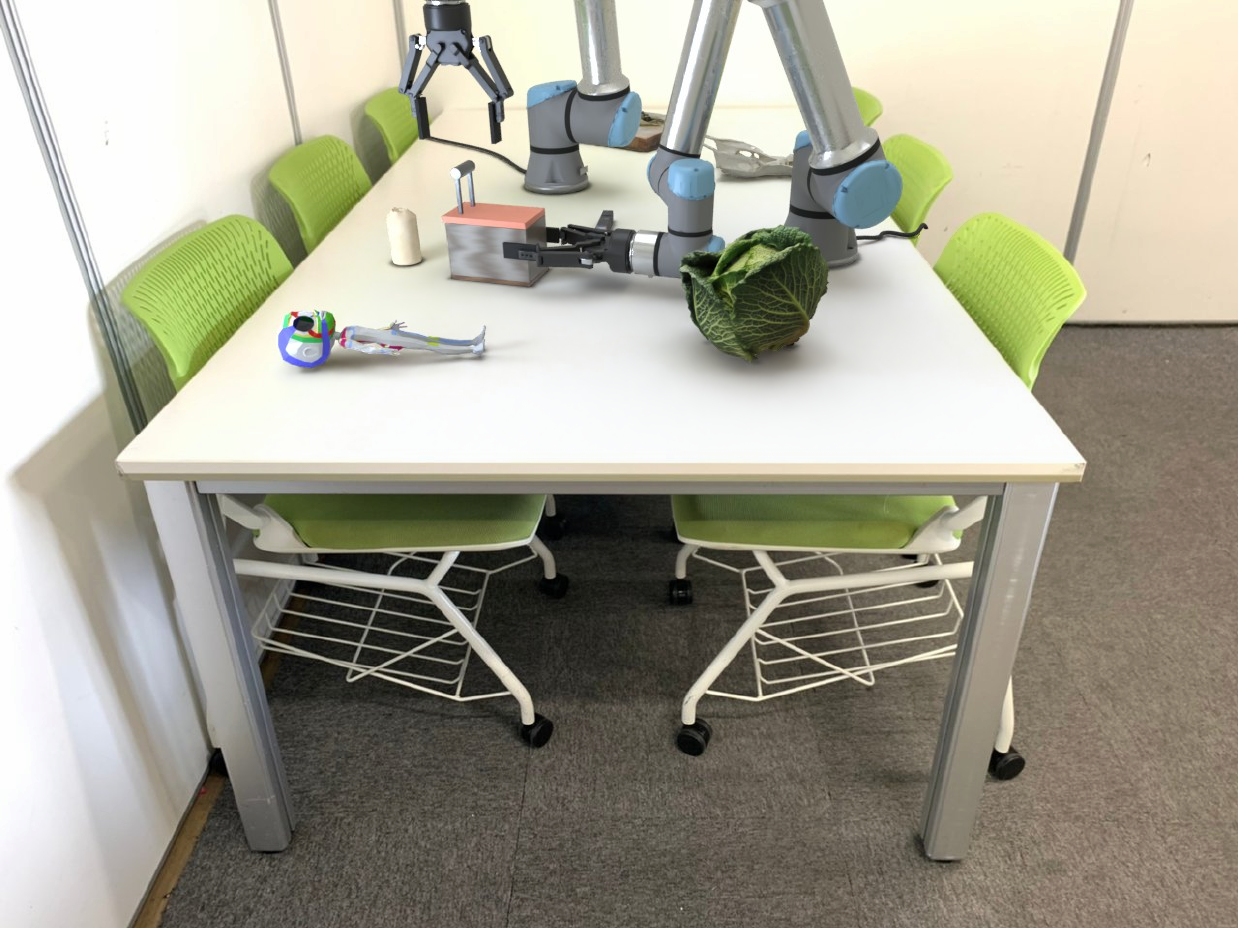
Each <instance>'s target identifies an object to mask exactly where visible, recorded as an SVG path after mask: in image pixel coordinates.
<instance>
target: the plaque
mask: <svg viewBox="0 0 1238 928" xmlns="http://www.w3.org/2000/svg"><path fill="white" fill-rule="evenodd" d="M665 119H666V114H663V113H659V112H650V111H644V110H642V113H641V120H640V125H639V128H638V131H637V133H636V136H635V138H634V139H633V141H632V142H631V143H630V144H629V145H627V146H624V147H618V148H620V149H625V150H632V151H640V152H648V151H654V150H656V149H657V150H658V147H659V143H660V139H661V135H662V131H663V127H664V123H665ZM612 148H617V147H616V146H613V147H612Z"/></svg>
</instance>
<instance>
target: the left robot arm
mask: <svg viewBox="0 0 1238 928" xmlns="http://www.w3.org/2000/svg"><path fill="white" fill-rule="evenodd" d="M424 1H425V3H423V6H422V14H423V23H424V28H425V30H426V31H425V33H426V35H422V34H421V33H419V32H417V33H415V34H414V33H413V34H410V35H409V36H408V52H407V56H406V60H405V62H404V66H403V69H402V73H401V78H400V81H399V84H398V88H397V92H398V93H399V94H400V95H404V96H407V97H408V98H409V101H410V108H411V116H412V118H413V119H416V123H417V133H418V138H419V140H421V141H423V140H426V139H428V140H432V141H433V140H434V141H437V142H441V143H447V144H450V145H455V146H460V147H465V148H469V149H473V150H477V151H481V152H485V153H488V154H490V155H494V156H496V157H498V158H500V159H502V160H504V161H505V162H507V163H508V164H509V165H510V166H512V167H513V168H515V169H516V170H518V171H520V172H521V173H524V174H525V175H524V178H523V183H524V188H525V189H526V190H527V191H530V192H531V193H535V194H536V193H537V194H543V195H544V194H545V195H562V194H570V193H576V192H579V191H583V190H584V189H586V188H587V187H589V175H588V173H589V165H585V164H584V161H583V158H582V156H581V153H580V144H583V145H594V146H601V147H608V148H614V147H613V146H616V147H615V148H619V147H624V146H627V145H629V144H630V143H631V142H632V141H633V139H634V138H635V136H636V133H637V131H638V128H639V125H640V120H641V113H642V111H643V103H642V102H643V101H642V98H641V96H640V94H639V93H638V92H636V91H633V90H632V91H631V84H630V82H631V81H630V79H629V78H628V77H627V76H626V75H625V74H623V72H622V71H623V70H622V59H621V49H620V38H619V28H618V27H619V26H618V16H617V5H616V0H573V7H574V15H575V24H576V33H577V40H578V49H579V58H580V66H581V74H582V78H581V79H580V81H579V82H577V81H576V80H575V79H574V80H573V79H563V80H554V81H548V82H543V83H539V84H535V85H532V86H531V87H530V88H529V89H528V90H527V93H526V107H525V108H526V109H525V110H526V113H527V127H528V140H529V141H528V142H529V157H528V162H527V168H526V169H525V168H522V167H521V166H519V165H517V164H516V163H514V162H513V161H511V160H510V159H509V158H508V157H506V156H505V155H503V154H501V153H499V152H496V151H494V150H491V149H488V148H484V147H480V146H477V145H472V144H469V143H464V142H459V141H454V140H449V139H444V138H440V137H435V136H432V135H431V127H430V119H429V111H428V104H427V97H426V96H423V92H424V91H425V89H426V88H427V86H428V84H429V82H430V81H431V79H432V77H433V76H434V74H435V72H436V71H437V69H438V67H439V66H443V67H446V66H449V65H451V66H453V67H460V66H462V67H463V68H464V69H465V70H467V71H468V72H469V73H470V75H471V76H472V77H473V79H475V81H476V83H478V85H479V86H480V87H481V89H482V90H483V91H484V92H485V94H486V95H487V97H488V98H489V99H490V100H491V101H489V102H487V109H488V110H487V111H488V122H489V134H490V144H491V145H497V144H499V143H501V142H502V141H503V137H502V126H501V125H502V124H501V123H503V122H505V118H506V115H505V100H507V99H509V98H512V97H514V95H515V91H514V89H513V87H512V85H511V83H510V81H509V78H508V77H507V75H506V72H505V71H504V69H503V66H502V65H501V62H500V61H499V59H498V57H497V54H496V52H495V51H494V46H493V41H492V37H491V35H489V34H486V35H483V36H479V37H474V35H473V31H472V29H473V23H472V21H473V20H472V13H471V5H470V4H469V2H467V0H424ZM425 47H426V48H427V49H428V50H429V51H430V53H429V55H428V57H427V58H426V60H425V64H424V66H423V67H422V69H421V71H420V72H419V74H418V76H417V78H416V75H417V72H418V69H419V64H420V61H421V57H422V54H423V50H424V49H425ZM475 48H476V49H477V51H478V52H480V55H481V58H482V60H483V62H484V64H485V66H486V68H487V70H488V72H489V73H488V72H487V71H486V70H485V68H484V67H483V66H482V65H481V64H480V61H479V58H478V57H477V56H476V55H475V54H474V52H473V50H474V49H475ZM489 74H490V75H489ZM415 78H416V79H415Z"/></svg>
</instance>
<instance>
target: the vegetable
mask: <svg viewBox="0 0 1238 928" xmlns="http://www.w3.org/2000/svg"><path fill="white" fill-rule="evenodd" d="M679 271H680V274H681V279H680V280H681V286H682V289H683V290H684V291H685V292H686V293H685V301H686V304H687V310H688V311H689V312H690V313H689V314H690V315H689V318H690V319H691V322H692V324H693V325H694V326H695V327H697V329H698V330H699V332H700V333H701V335H702V336H703V337H704V338H705V339H706V340H707V341H710V342H711V344H712V345H713V347H715V348H717V349H718V350H720V351H721V352H722V353H724V354H726V355H729V356H732V357H737V358H741V359H744V360H746V361H747V362H748V363H749V364H751V363H752V360H759V358H758V357H757V356H756V355H759V354H761V353H762V352H763V351H765V350H769V351H773V352H780V350H781V349H782V348H785V347H792V346H793V347H794V346H795V344H796V343H799V341H800V340H801V337H803V336H805V335H806V334H807V333H808V331H809V329H810V324H811V322H810V321H811V320H813V318H814V316H815V314H816V312H817V310H818V305H819V303H820V301H821V299H822V297H824V296H825V295H826V294H827V292H828V290H829V289H828V285H829V283H830V281H828V277H829V272H830V268H828V267H827V263H826V260H825V259H824V258H823V257H822V255H821V251H820V250H819V249H818V247H815V248H814V247H813V245H812V240H811V237H810V236H809V234H806V233H804V232H802V231H800V228H799V227H786V226H785V225H784V224H779V225H777V226H776V227H769V228H768V227H767V228H766V227H762V228H757V229H754V230H753V229H752V230H750V231H747V232H746V233H745V234H742V235H741V236H739V237H737V238H736V239H735V240H734V241H733V242H731V243H728V244H727V245H726V246H725V249H723V250H720V251H718V252H711V251H698V250H697V251H694V252H691V253H688V254H687V255H684V256H683V257H682V258H681V263H680V266H679Z"/></svg>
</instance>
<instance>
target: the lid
mask: <svg viewBox="0 0 1238 928" xmlns="http://www.w3.org/2000/svg"><path fill="white" fill-rule="evenodd" d="M475 170H476V164H475V162H474V161H473V160H471V159H467V160H465V161H463V162H462V163H460V164H458V165H456V166H454V167H453V168H451V169H450V172H449V173H450V177H451V178H452V179H453V180H454V183H455V193H456V201H457V206H455V207H454V208H452V209H451V210H449V211H447V212H446V213H444V214H442V215H441V222H442V223H444V224H445V223H456V224H467V225H479V226H491V227H502V228H514V229H527V228H528V227H529V226H531V225H532V224H533V223H534V222H536V221H537V220H538V219H540V218H541V217H542V216H543V215H545V216H546V208H545V207H538V206H536V207H535V206H524V205H523V206H522V205H512V204H500V203H499V204H497V203H487V202H476V197H475V188H474V187H475V186H474V178H473V172H474V171H475ZM465 176H467V177H466V178H467V186H468V193H469V201H463V194H462V185H461V184H462V183H461V179H462V178H464V177H465Z"/></svg>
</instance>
